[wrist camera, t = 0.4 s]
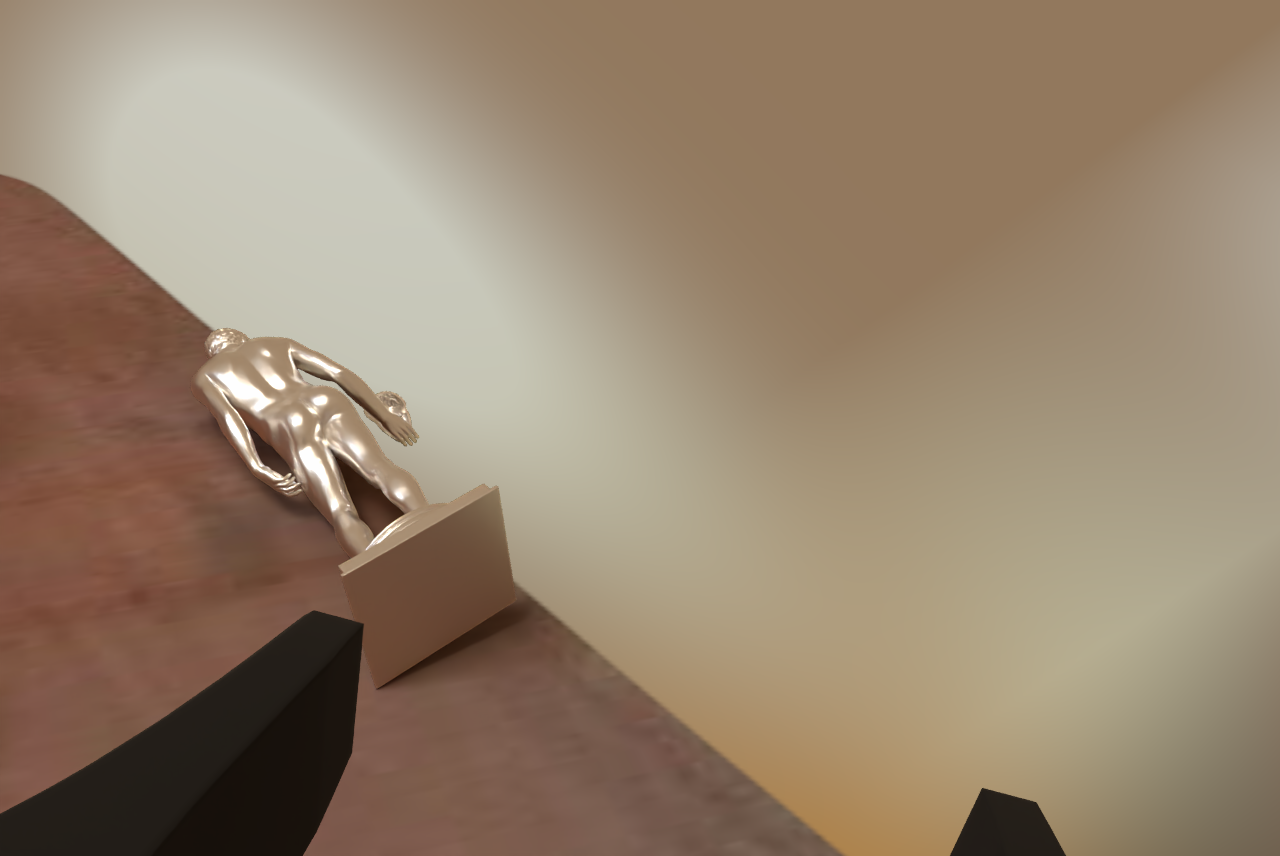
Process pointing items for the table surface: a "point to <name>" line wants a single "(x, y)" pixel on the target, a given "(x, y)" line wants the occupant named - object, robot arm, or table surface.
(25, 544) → the table surface
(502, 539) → the figurine
